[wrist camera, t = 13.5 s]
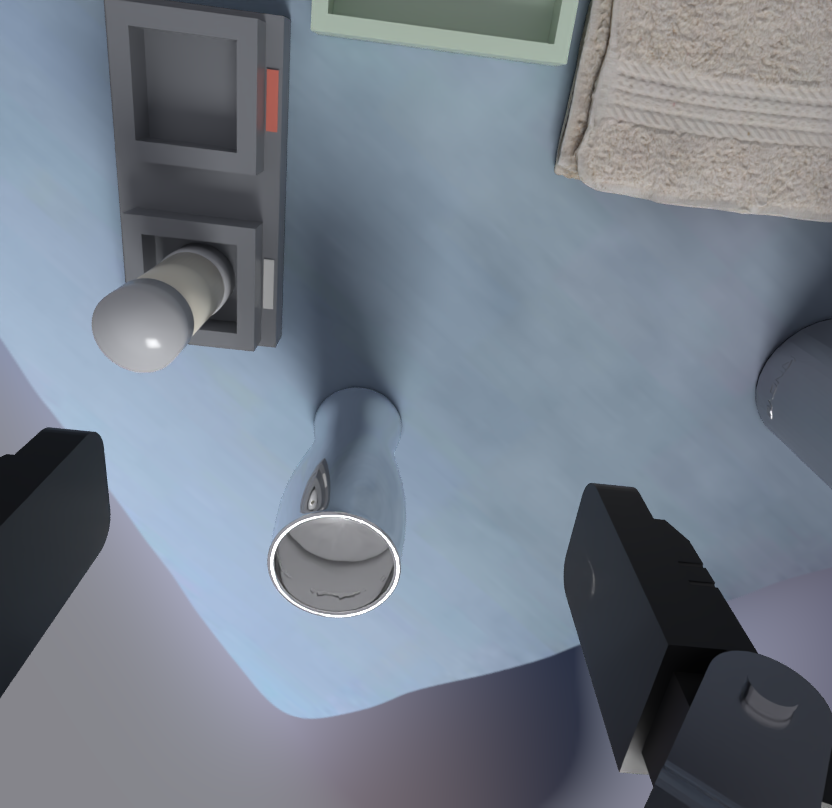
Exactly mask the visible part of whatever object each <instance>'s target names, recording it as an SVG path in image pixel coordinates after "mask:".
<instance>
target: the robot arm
mask: <svg viewBox="0 0 832 808" xmlns="http://www.w3.org/2000/svg"><path fill="white" fill-rule="evenodd" d="M756 405H757V409H758V413H759V415H760V417H761V419H762V421H763V423H764V424H765V425H766V426H767V427H768V428H769V429H770V430H771V431H772V432H773V433H774V434H775V435H776V436H777V437H778V438H779V439H780V440H781V441H782V442H783V443H784V444H785V445H786V446H787V447H788V448H789V449H790V450H791V451H792V452H793V453H794V454H796V456H797V457H798V458H799V459H800V460H801V461H802V462H804V463H805V464H806V465H807V466H808V467H809V468H810V469H811V470H812V471H813V472H814V473H815V474H816V475H817V476H818V477H819V478H820V479H821V480H822V481H823V482H825V483H826V484H827V485H828V486H829V487H830V488H831V489H832V319H830V320H826V321H822V322H819V323H815V324H813V325H811V326H809V327H807V328H804V329H802V330H800V331H799V332H797V333H796V334H794V335H793V336H791V337H790V338H788V339H787V340H786V341H785V342H784V343H783V344H782V345H781V346H780V347H779V348H778V349H776V350H775V352H774V353H773V354H772V356H771V357H770V358H769V360H768V361H767V362H766V364H765V366H764V368H763V370H762V372H761V374H760V377H759V380H758V384H757V388H756ZM109 526H110V504H109V493H108V484H107V474H106V464H105V454H104V446H103V441H102V439H101V436H100V435H99V434H98V433H96V432H90V431H80V430H70V429H60V428H50V427H48V428H45V429H43V430H41V431H40V432H39V433H38V434H37V435H36V436H35V437H34V438H33V439H31V440H30V441H29V442H28V443H27V444H26V445H25V446H24V447H23V448H22V449H20V450H19V451H18V452H17V453H16V454H15V455H10V454H6V455H4V456H2V457H0V698H1V696H2V695H3V693H4V692H5V690H6V689H7V687H8V686H9V684H10V682H11V681H12V680H13V678H14V677H15V676H16V674H17V673H18V671H19V670H20V668H21V667H22V665H23V664H24V663H25V661H26V660H27V658H28V657H29V655H30V654H31V652H32V651H33V649H34V648H35V646H36V645H37V644H38V642H39V641H40V639H41V637H42V636H43V635H44V633H45V632H46V630H47V629H48V627H49V626H50V624H51V623H52V622H53V620H54V619H55V617H56V616H57V614H58V613H59V611H60V610H61V608H62V607H63V606H64V604H65V602H66V601H67V600H68V598H69V597H70V595H71V594H72V592H73V591H74V589H75V588H76V587H77V585H78V584H79V582H80V581H81V579H82V578H83V576H84V575H85V573H86V572H87V570H88V569H89V567H90V566H91V565H92V563H93V562H94V560H95V559H96V557H97V556H98V554H99V553H100V551H101V550H102V548H103V546H104V543H105V541H106V538H107V535H108V531H109ZM714 584H715V582H714V581H713V579H712V577H711V576H710V574H709V572H708V571H707V569H706V568H703V563H702V561H701V559H700V558H699V556H698V554H697V553H696V551H695V550H694V548H693V546H692V545H691V543H690V541H689V540H688V539H686V538H685V537H684V536H683V535H682V534H681V533H679V532H678V531H677V530H676V529H675V528H674V527H672V526H671V525H670V524H669V523H668V522H667V521H665V520H660V519H654V518H653V517H652V515H651V513H650V511H649V510H648V508H647V506H646V504H645V502H644V501H643V499H642V497H641V495H640V493H639V492H638V490H637V489H636V488H634V487H626V486H616V485H606V484H596V483H589V484H588V485H587V486H586V488H585V490H584V492H583V495H582V498H581V502H580V506H579V509H578V513H577V517H576V520H575V524H574V528H573V531H572V535H571V539H570V542H569V546H568V550H567V554H566V558H565V564H564V588H565V593H566V597H567V600H568V604H569V607H570V610H571V614H572V617H573V620H574V624H575V627H576V630H577V634H578V637H579V640H580V644H581V647H582V650H583V654H584V657H585V660H586V664H587V667H588V670H589V674H590V677H591V680H592V684H593V687H594V690H595V694H596V697H597V700H598V703H599V707H600V710H601V713H602V717H603V720H604V723H605V727H606V730H607V733H608V736H609V740H610V743H611V747H612V750H613V753H614V757H615V760H616V763H617V767H618V770H619V772H620V773H633V774H634V773H635V774H647V775H649V776H650V779H651V782H652V785H653V789H652V791H651V793H650V796H649V798H648V800H647V802H646V804H645V807H644V808H832V712H831V710H830V708H829V706H828V704H827V703H826V701H825V700H824V698H823V697H822V696H821V695H820V693H819V692H818V691H817V690H816V689H815V688H814V687H813V686H812V685H811V684H810V683H809V682H808V681H807V680H806V679H804V678H803V677H802V676H801V675H799V674H798V673H797V672H795V671H794V670H792V669H791V668H789V667H787V666H786V665H784V664H782V663H780V662H778V661H776V660H774V659H771V658H769V657H766V656H763V655H761V654H758V653H757V651H756V649H755V648H754V646H753V644H752V643H751V641H750V640H749V638H748V636H747V635H746V633H745V631H744V630H743V628H742V626H741V625H740V623H739V622H738V620H737V618H736V617H735V615H734V613H733V612H732V610H731V608H730V607H729V605H728V603H727V602H726V600H725V599H724V597H723V595H722V594H721V592H720V590H719V589H718V588H716V587H715V586H714Z"/></svg>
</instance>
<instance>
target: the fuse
mask: <svg viewBox="0 0 832 808" xmlns="http://www.w3.org/2000/svg"><path fill="white" fill-rule="evenodd" d="M234 286H235V275H234V271H233V268H232V265H231V263H230V262H229V260H228V259H227V258H226V256H225V255H224V254H223V253H222V252H220V251H219V250H218V249H216V248H214V247H212V246H210V245H207V244H203V243H190V244H186V245H183V246H181V247H180V248H178V249H177V250H175V251H174V252H172V253H171V254H169V255H168V256H166V257H165V258H164V259H163V260H162V261H161V262H160V263H159V264H158V265H156V266H155V267H153V268H152V269H150V270H149V271H147V272H146V273H144V274H143V275H141V276H140V277H138V278H137V279H135V280H132V281H129V282H127V283H125V284H124V285H122V286H121V287H119V288H118V289H116V290H115V291H113V292H112V293H110V294H109V295H107V296H106V297H104V298H103V299H102V300H101V301H100V302H99V303H98V305H97V306H96V308H95V310H94V313H93V317H92V331H93V335H94V338H95V341H96V343H97V345H98V346H99V348H100V349H101V351H102V352H103V353H104V354H105V356H106V357H107V358H109V359H110V360H111V361H112V362H114V363H115V364H116V365H118V366H120V367H122V368H124V369H127V370H130V371H133V372H139V373H150V372H155V371H158V370H161V369H163V368H165V367H166V366H168V365H169V364H170V363H171V362H172V361H173V360H174V359H175V358H176V357H177V356H178V355H179V354H180V352H181V351H182V350H183V349H184V348H185V347H186V346H187V344H188V343H189V342H190V340H191V338H192V336H193V335H194V334H195V333H196V332H197V331H198V329H199V328H200V327H201V326H202V325H203V324H204V323H205V322H206V321H207V320H208V318H209V317H210V316H211V315H213V314H215V313H216V312H217V311H218V310H219V309H220V308H221V307H222V306H223V305H224V304H225V302H226V301H227V300H228V299H229V298H230V296H231V295H232V293H233V290H234Z"/></svg>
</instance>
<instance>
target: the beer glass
mask: <svg viewBox="0 0 832 808" xmlns="http://www.w3.org/2000/svg"><path fill="white" fill-rule="evenodd" d="M401 432H402V424H401V419H400V416H399V413H398V411H397V409H396V408H395V406H394V405H393V404H392V402H391V401H390V400H389V399H387V398H386V397H385V396H384V395H382V394H380V393H378V392H376V391H374V390H371V389H368V388H362V387H351V388H345V389H342V390H339V391H337V392H335V393H333V394H331V395H330V396H329V397H327V398H326V399H325V400H324V401H323V402H322V404H321V405H320V406H319V408H318V410H317V412H316V415H315V419H314V439H315V440H314V442H313V444H312V445H311V447H310V448H309V449H308V451H307V452H306V453H305V455H304V456H303V458H302V459H301V461H300V462H299V463H298V465H297V467H296V468H295V470H294V472H293V473H292V475H291V477H290V479H289V481H288V483H287V485H286V488H285V490H284V493H283V495H282V498H281V501H280V504H279V508H278V512H277V515H276V520H275V525H274V530H273V535H272V541H271V546H270V548H269V552H268V559H267V564H268V571H269V575H270V578H271V580H272V582H273V584H274V586H275V587H276V589H277V590H278V591H279V593H280V594H281V595H282V596H283V597H284V598H285V599H286V600H288V601H289V602H290V603H291V604H293V605H294V606H296V607H298V608H300V609H302V610H304V611H306V612H309V613H311V614H315V615H319V616H324V617H333V618H343V617H351V616H356V615H360V614H363V613H366V612H368V611H370V610H372V609H374V608H376V607H378V606H379V605H380V604H382V603H383V602H384V601H385V600H386V599H387V598H388V597H389V596H390V595H391V594H392V593H393V591H394V590H395V588H396V586H397V584H398V581H399V578H400V573H401V560H402V554H403V548H404V541H405V531H406V500H405V494H404V488H403V483H402V479H401V475H400V472H399V468H398V465H397V462H396V458H395V451H396V448H397V446H398V444H399V441H400V438H401Z"/></svg>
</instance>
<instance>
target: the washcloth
mask: <svg viewBox="0 0 832 808" xmlns="http://www.w3.org/2000/svg"><path fill="white" fill-rule="evenodd" d="M554 172H555V173H556V174H557V175H564V176H565V177H567V178H569V179H570V178H575V179H578V180H581V181H582V182H583V183H584V184H586V185H587V186H589V187H591V188H593V189H595V190H597V191H601V192H607V193H614V194H620V195H627V196H631V197H635V198H642V199H647V200H651V201H654V202H657V203H662V204H671V205H678V206H686V207H699V208H709V209H717V210H725V211H730V212H737V213H740V214H758V215H772V216H782V217H788V218H794V219H799V220H809V221H818V222H832V0H591V2H590V4H589V8H588V13H587V15H586V21H585V25H584V29H583V33H582V38H581V41H580V47H579V53H578V58H577V66H576V71H575V76H574V80H573V85H572V89H571V93H570V96H569V101H568V105H567V111H566V115H565V119H564V124H563V127H562V132H561V135H560V140H559V146H558V150H557V157H556V164H555V167H554Z"/></svg>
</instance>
